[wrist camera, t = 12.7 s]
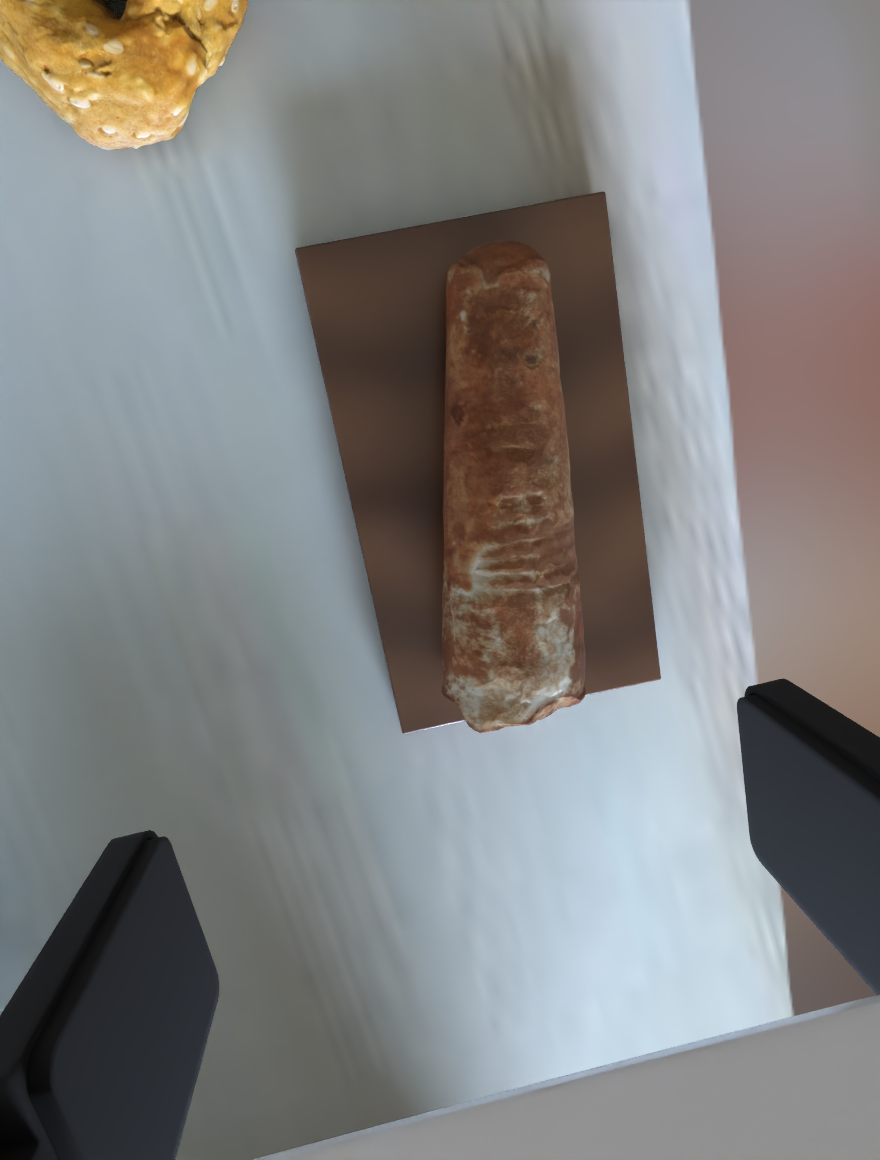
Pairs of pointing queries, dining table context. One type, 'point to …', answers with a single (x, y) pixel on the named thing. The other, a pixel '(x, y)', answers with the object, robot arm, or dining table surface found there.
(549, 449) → the bread
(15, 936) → the dining table surface
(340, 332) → the bread board
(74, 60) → the bagel
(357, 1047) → the dining table surface
